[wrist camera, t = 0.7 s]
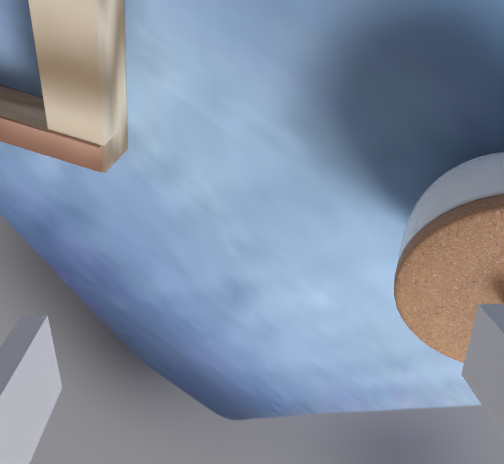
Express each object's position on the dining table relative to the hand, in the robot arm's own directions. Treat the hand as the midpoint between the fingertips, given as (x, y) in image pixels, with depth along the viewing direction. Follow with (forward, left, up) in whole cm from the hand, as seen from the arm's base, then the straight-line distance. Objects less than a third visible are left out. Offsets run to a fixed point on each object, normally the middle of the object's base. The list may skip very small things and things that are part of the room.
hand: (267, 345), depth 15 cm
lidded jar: (+3, +10, -16) cm, 19 cm away
